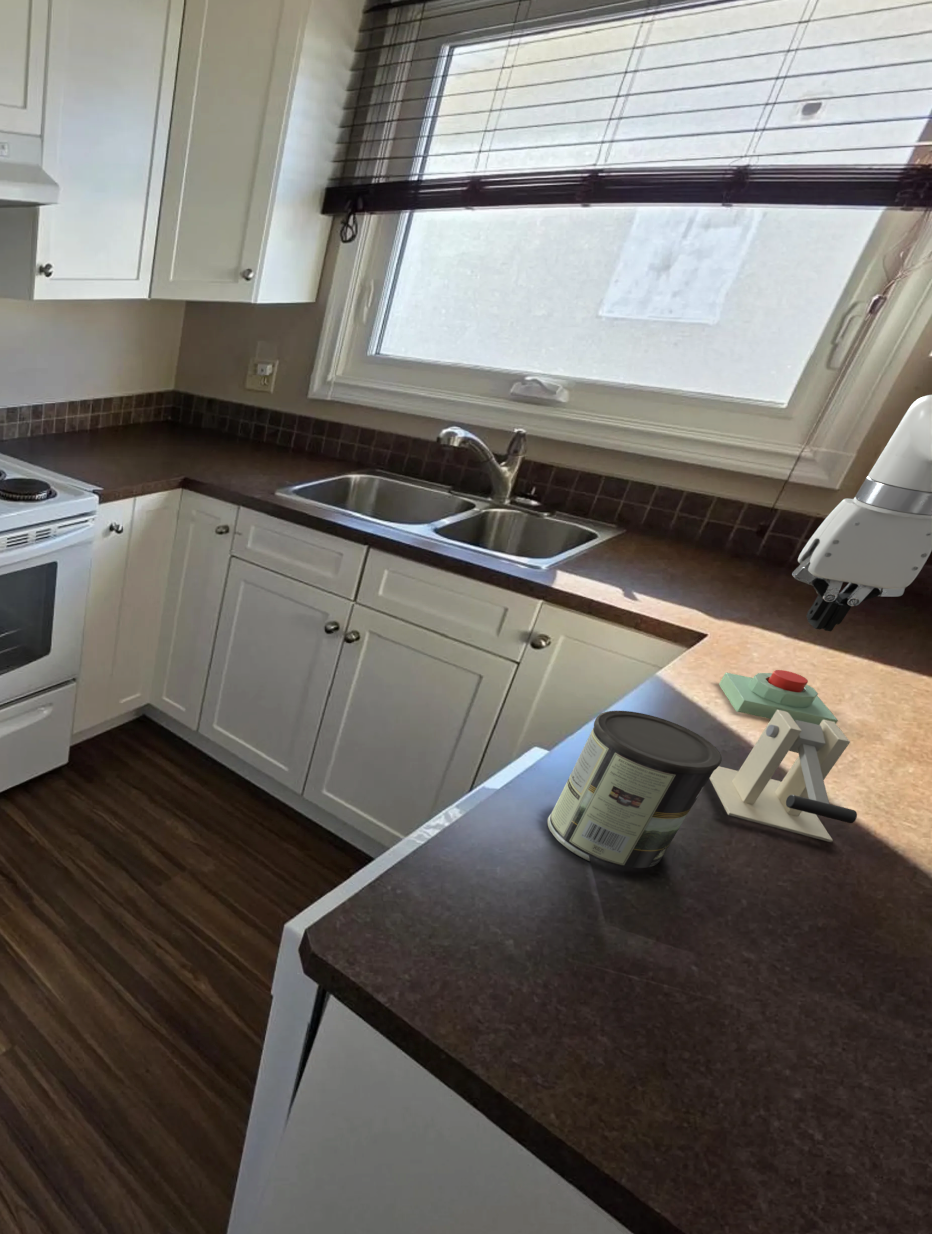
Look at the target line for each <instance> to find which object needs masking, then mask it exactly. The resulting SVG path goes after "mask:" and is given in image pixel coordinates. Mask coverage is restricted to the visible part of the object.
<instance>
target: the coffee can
mask: <svg viewBox="0 0 932 1234" xmlns="http://www.w3.org/2000/svg"><path fill="white" fill-rule="evenodd" d="M722 760H723V757H722V754H721V752H720V751H719V749H717V747H716V746H715V745H714V744H712V742H711V741H709V740H707V739H706V738H704V737H703V736H702V735H701V734H698V733H697V732H694V731H693V730H691V729H689V728H687V727H685V726H682V725H680V724H678V723H675V722H672V721H671V720H667V719H666V718H665V719H664V718H661V717H658V716H654V715H651V714H647V713H642V712H637V711H630V710H607V711H603V712H601V713H599V714H598V715H597V716H596V718H595V719H594V721H593V727H592V729H591V732H590V733H589V736H588V738H587V740H586V742H585V744H584V746H583V748H582V750H581V752H580V754H579V756H578V757H577V760H576V761H575V764H574V767H573V769H572V770H571V773H570V774H569V777H568V779H567V780H566V783H565V785H564V787H563V788H562V791H561V793H560V795H559V797H558V799H557V801H556V803H555V805H554V807H553V809H552V810H551V813H550V814H549V816H548V817H547V826H548V830H549V832H551V834H552V836H553V837H554V838H555V839H556V840H557V841H558V842H559V843H560V844H561V845H562V846H563V847H565V848H566V849H567V850H568V851H570V852H572V853H573V854H575V855H576V856H577V857H580V858H582V859H584V860H586V861H588V862H591V858H590V856H591V857H593V858H597V859H599V860H601V861H604V862H606V863H610V864H612V865H615V866H619V867H620V866H621V867H624V868H625V867H627V868H632V869H633V868H634V869H645V868H651V867H654V866H656V865H657V864H658V863H660V862H661V860H662V858H663V857H664V855H665V853H666V852H667V850H668V849H669V846H670V845H671V843H672V841H673V840H674V838H675V836H676V835H677V833H678V831H679V830H680V827H681V826H682V824H683V823H684V821H685V819H686V818H687V816H688V814H689V813H690V811H691V809H693V806H694V804H695V803H696V801H697V800H698V798H699V796H700V795H701V793H702V791H703V790H704V788H705V786H706V784H707V783H708V781H709V780H710V776H711V775H712V773H713V771H714V770H715V769H717V768H718V766H720V765H721V764H722V762H723V761H722Z"/></svg>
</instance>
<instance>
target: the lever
mask: <svg viewBox="0 0 932 1234" xmlns="http://www.w3.org/2000/svg"><path fill="white" fill-rule="evenodd" d="M795 722H796V724H797V725H798V726H799V728H800V729H801V730H802V731H801V733H800V734H799V736H798V737H797V739H796V740H795V742H794V744H793V745H792V747H791V748H790V750H789V751H788V752H792V753H796V754H798V756H799V758H800V762H801V767H802V771H803V775H804V780H805V784H806V789H807V793H808V797H809V799H808V798H804V797H800V796H796V795H790V796H788V798H787V800H786V806H787V807H788V808H792V809H796V810H800V811H804V812H808V813H812V814H816V815H817V816H819V817H824V818H827V819H832V820H836V821H840V822H844V823H847V824H853V823H855V822H856V820H857V817H858V813H857V811H856V810H854V809H851V808H847V807H843V806H840V805H835V804H832V803H830V800H829V796H828V792H827V788H826V785H825V781H824V780H825V779H824V780H823V776H822V772H821V768H820V764H819V760H818V756H817V751H818V750H820V749H821V748H822V747H823V746H824V745H825V744H826V743H825V739H824V735H823V731H822V728H821V725H816V724H812V723H807V722H803V721H798V720H795Z"/></svg>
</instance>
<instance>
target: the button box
mask: <svg viewBox="0 0 932 1234" xmlns="http://www.w3.org/2000/svg"><path fill="white" fill-rule="evenodd" d="M772 673H773V672H757V673H756V674H755V675H754V676H753V677H750V676H745V675H741V674H736V673H730V672H725V673H724V674H723V676H722V678H721V680H720V681H719V683H718V685H719V687H720V689H721V690H722V692H723V693H724V695H725V696H726V697H727V700H728V702H729V703H730V704H731V706H732V707H733V709H734V710H735V712H736V713H741V714H747V715H750V716H755V717H760V718H764V719H768V720H771V719H772V717H773V715H774V714H775V712H776V711H777V710H781V711H786V712H788V713H789V714H790V716H791V717H792V718H793V720H794V721H795V720H798V721H803V722H807V723H812V724H816V725H820V723H821V722H822V720H827V721H832V722H835V724H836V725H837V723H838V722H839V720H838V718H837V717H836V716H835V714H833V712H832V711H831V710H830V709H829V707H827V705H826V704H825V703H824V702H823V700H822V699H821V698H820V697H819V696H818V695H819V693H818V691H817V690H816V689H815V688H814V687H812V686H811V685H808V683H807V684H806V686H805V687H804V689H803V691H802V692H792V691H787V690H784V689H781V688H778V687H775V686H773V685H772V684H770V683H768V680H769V678H770V677H771V675H772Z"/></svg>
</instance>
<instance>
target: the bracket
mask: <svg viewBox="0 0 932 1234" xmlns="http://www.w3.org/2000/svg"><path fill="white" fill-rule="evenodd" d="M820 725H821V728H822V731H823V735H824V739H825V743H826V744H825V745H824V746H823V747H822V748H821V749H820V750H818V751H817V756H818V760H819V764H820V768H821V772H822V776H823V780H825V779H826V778H827V776H828V775H829V773H830V772H831V771H832V769H833V767H834V766H835V765H836V763H837V762H838V760H839V759H840V757H841V756H842V755H843V753H844V752H845V750H846V749H847V747H848V746H849V744H851V740H849V738H848V737H847V736H846V734H845V733H844V732H843V731H842V730H841V728H840V727H839V725H838V724H837V723H836V724H835V722H832V721H827V720H822V722H821V723H820ZM801 731H802V730H801V729H800V728H799V726H798V725H797V724H796V722H795V721H794V720H793V718H792V717H791V716H790V714H789V713H788V712H786V711H781V710H777V711H776V712H775V714H774V715H773V717H772V719H769V722H768V724H767V725H766V726H765V728H764V730H763V731H762V733H761V735H760V736H759V738H758V739H757V741H756V742H755V744H754V745H753V747H752V749H751V751H750V752H749V754H748V755H747V757H746V759H745V760H744V761H743V763H742V765H741V767H740V768H739V769H738V770H735V769H732V768H728V767H723V766H720V765H719V766H718V768H717V769H715V770H714V771H713V773H712V775H711V776H710V778H709V780H710V783H711V784H712V786H713V788H714V790H715V792H716V794H717V797H718V798H719V800H720V802H721V804H722V805H723V808H724V810H725V812H726V814H727V815H728V816H731V817H735V818H738V819H741V820H746V821H749V822H753V823H757V824H759V825H760V824H761V825H764V826H768V827H771V828H776V829H779V830H783V831H787V832H791V833H795V834H798V835H802V836H806V837H809V838H813V839H818V840H820V841H824V842H828V843H832V842H833V840H834V839H833V837H831V835H830V834H829V832H828V831H827V829H826V827H825V825H824V824H823V823H822V821H821V819H820V818H819V816H818V815H816V814H812V813H808V812H804V811H800V810H796V809H792V808H788V807H787V806H786V800H787V798H788V796H790V795H796V796H800V797H804V798H808V799H809V797H808V793H807V789H806V784H805V780H804V775H803V771H802V767H801V762H800V758H799V755H798V756H797V758H796V759H795V761H793V763H792V765H791V767H790V768H789V770H787V773H786V774H785V775H784V777H783V779H782V781H781V780H778V779H777V780H776V779H772V777H773V776H774V775H775V773H776V772H777V769H778V768H779V766H780V765H781V763H782V762H783V761H784V759H785V757H786V756H787V755H788V753H789V752H790V751H789V750H790V748H791V747H792V745H793V744H794V742H795V740H796V739H797V737H798V736H799V734H800V733H801Z"/></svg>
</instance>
